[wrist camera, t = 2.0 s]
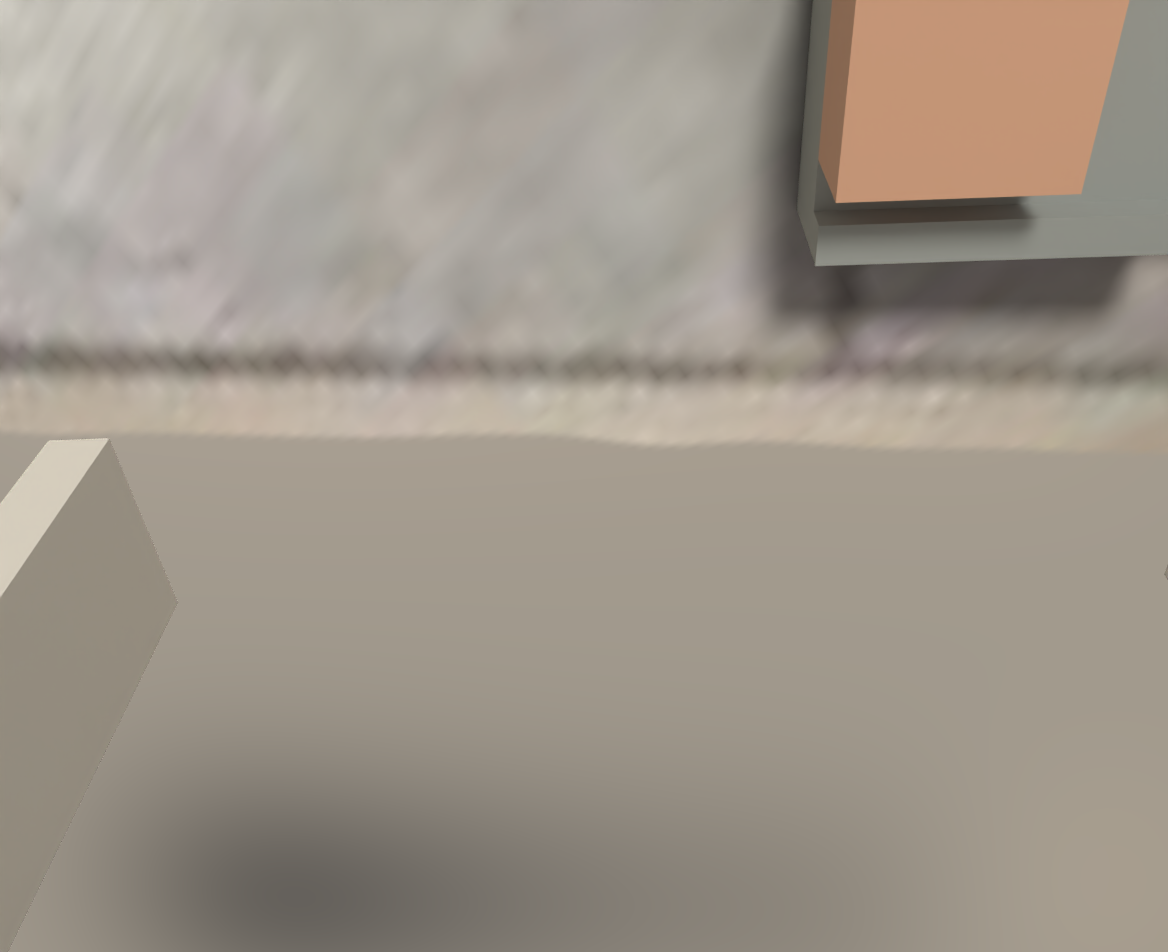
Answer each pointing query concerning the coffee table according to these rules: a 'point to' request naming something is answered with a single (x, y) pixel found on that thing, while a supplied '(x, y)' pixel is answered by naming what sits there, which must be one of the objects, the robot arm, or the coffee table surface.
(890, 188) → the block
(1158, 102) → the trap box
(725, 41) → the coffee table surface
